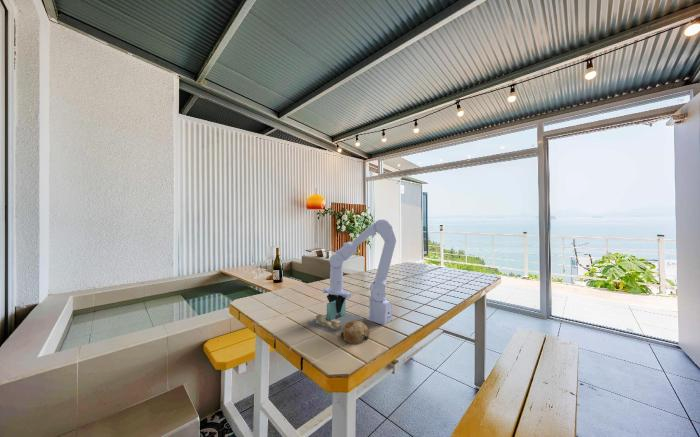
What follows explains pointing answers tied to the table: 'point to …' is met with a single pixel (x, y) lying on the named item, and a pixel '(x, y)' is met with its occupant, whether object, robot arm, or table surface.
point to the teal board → (334, 310)
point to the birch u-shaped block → (328, 322)
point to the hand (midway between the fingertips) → (336, 311)
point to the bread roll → (355, 332)
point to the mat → (343, 319)
